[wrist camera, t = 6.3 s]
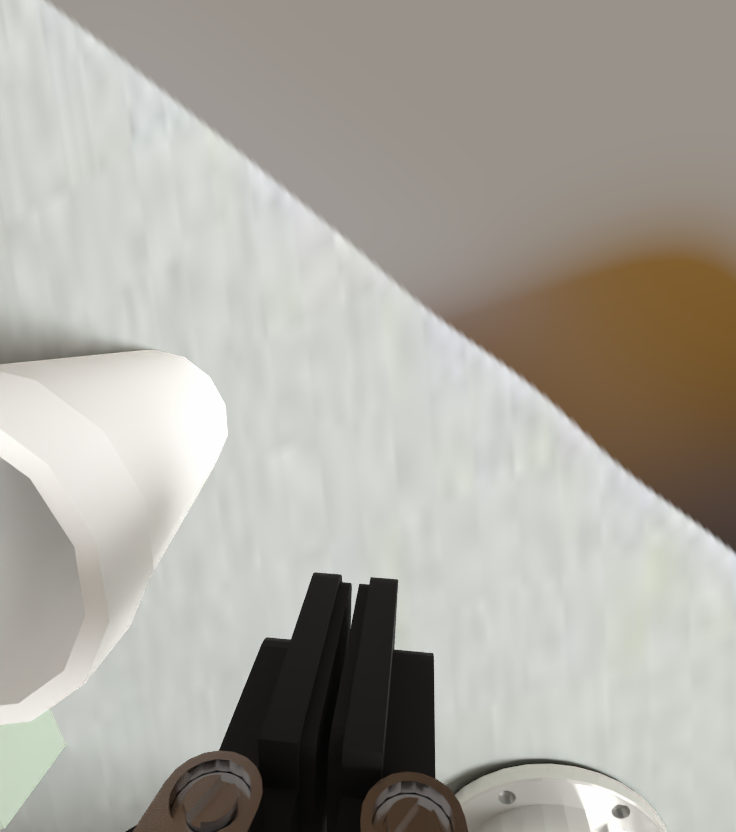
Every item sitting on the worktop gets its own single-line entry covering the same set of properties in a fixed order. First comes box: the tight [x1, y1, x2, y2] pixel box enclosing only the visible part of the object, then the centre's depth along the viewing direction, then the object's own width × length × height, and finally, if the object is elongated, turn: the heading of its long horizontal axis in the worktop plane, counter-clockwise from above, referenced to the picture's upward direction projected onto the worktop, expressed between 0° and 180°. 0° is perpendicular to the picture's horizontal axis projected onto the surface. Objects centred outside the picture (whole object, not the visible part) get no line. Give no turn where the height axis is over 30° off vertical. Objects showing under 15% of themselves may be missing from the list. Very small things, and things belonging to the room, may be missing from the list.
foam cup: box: [0, 349, 228, 725], centre depth 20 cm, size 10×9×13 cm
